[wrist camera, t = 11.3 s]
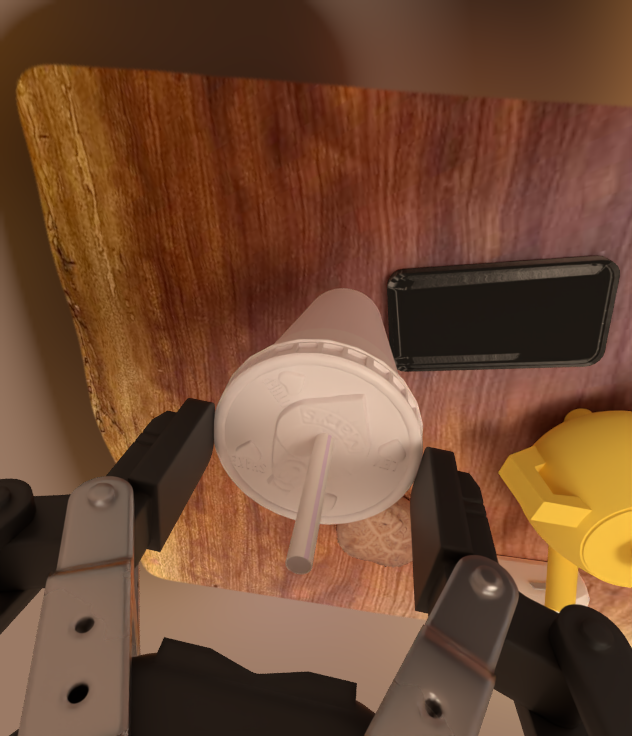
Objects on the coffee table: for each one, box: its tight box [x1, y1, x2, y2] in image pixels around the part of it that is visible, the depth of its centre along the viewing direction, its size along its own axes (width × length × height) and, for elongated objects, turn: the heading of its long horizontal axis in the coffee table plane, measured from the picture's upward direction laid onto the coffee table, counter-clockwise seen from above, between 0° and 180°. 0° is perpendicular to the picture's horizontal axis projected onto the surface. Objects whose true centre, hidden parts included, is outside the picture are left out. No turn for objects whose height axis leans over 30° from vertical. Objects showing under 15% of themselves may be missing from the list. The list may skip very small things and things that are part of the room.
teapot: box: [498, 409, 632, 612], centre depth 32 cm, size 20×18×11 cm
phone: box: [387, 256, 620, 372], centre depth 32 cm, size 8×1×15 cm
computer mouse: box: [497, 555, 590, 613], centre depth 42 cm, size 6×13×6 cm, turn 89°
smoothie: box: [214, 288, 423, 574], centre depth 16 cm, size 6×6×14 cm
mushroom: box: [336, 496, 413, 567], centre depth 42 cm, size 8×6×8 cm
